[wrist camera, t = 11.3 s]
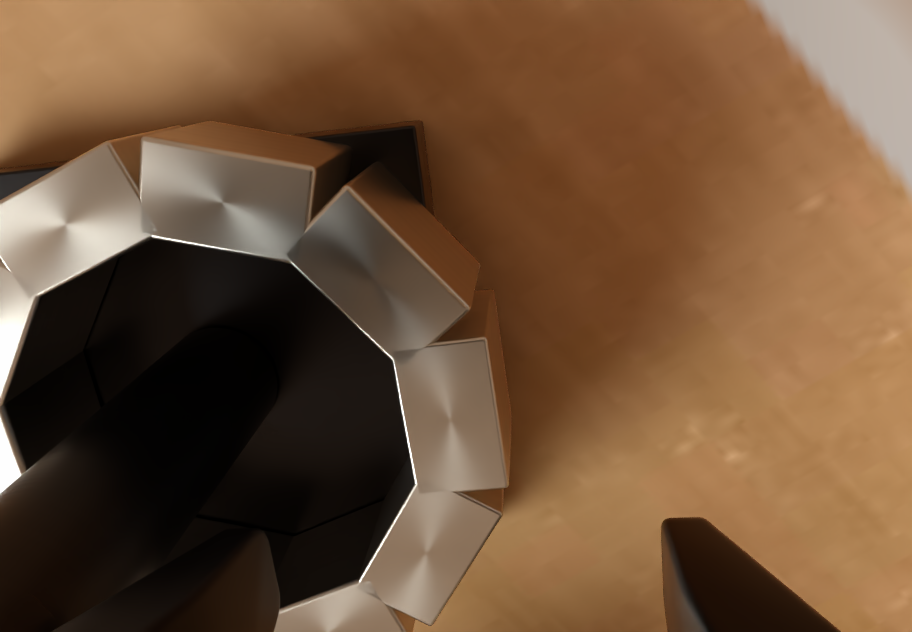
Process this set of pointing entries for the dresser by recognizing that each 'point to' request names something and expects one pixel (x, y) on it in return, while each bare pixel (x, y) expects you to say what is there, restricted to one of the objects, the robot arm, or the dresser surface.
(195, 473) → the post
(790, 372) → the dresser surface
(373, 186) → the ring
